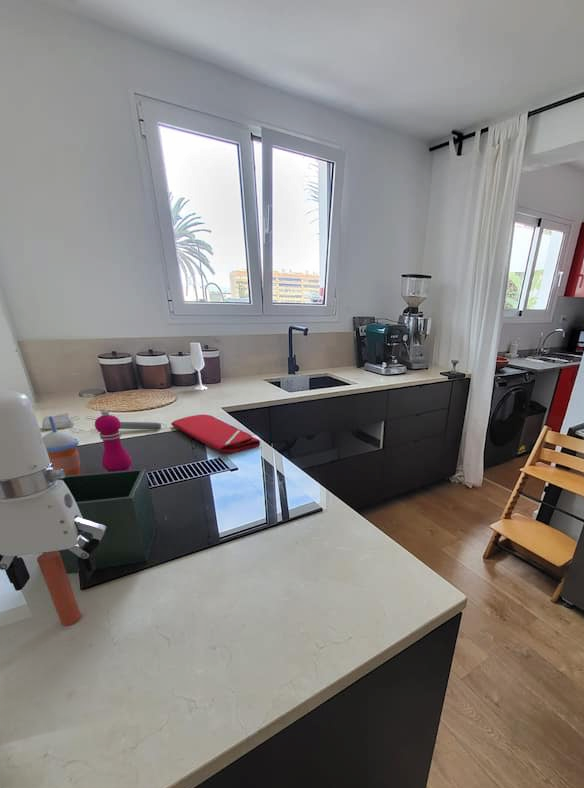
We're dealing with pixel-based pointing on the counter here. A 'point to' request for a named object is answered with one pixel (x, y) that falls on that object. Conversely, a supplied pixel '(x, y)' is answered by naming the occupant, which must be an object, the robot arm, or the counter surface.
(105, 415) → the pepper mill
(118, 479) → the bin
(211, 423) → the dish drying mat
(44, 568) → the orange cylinder
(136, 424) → the kitchen whisk
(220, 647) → the counter surface
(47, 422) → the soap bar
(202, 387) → the champagne flute
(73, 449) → the cup with straw
